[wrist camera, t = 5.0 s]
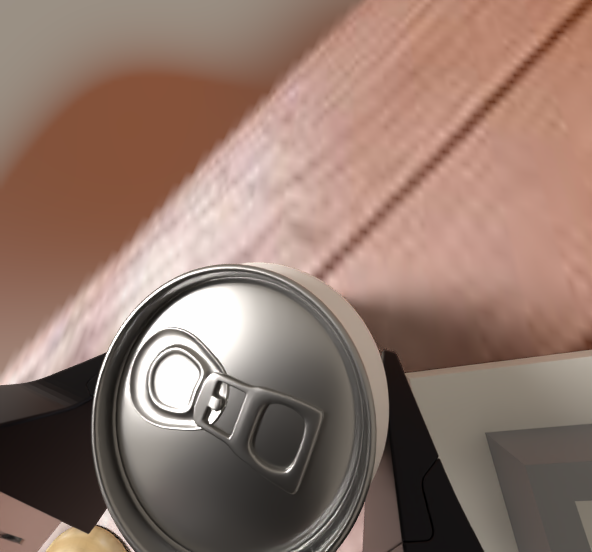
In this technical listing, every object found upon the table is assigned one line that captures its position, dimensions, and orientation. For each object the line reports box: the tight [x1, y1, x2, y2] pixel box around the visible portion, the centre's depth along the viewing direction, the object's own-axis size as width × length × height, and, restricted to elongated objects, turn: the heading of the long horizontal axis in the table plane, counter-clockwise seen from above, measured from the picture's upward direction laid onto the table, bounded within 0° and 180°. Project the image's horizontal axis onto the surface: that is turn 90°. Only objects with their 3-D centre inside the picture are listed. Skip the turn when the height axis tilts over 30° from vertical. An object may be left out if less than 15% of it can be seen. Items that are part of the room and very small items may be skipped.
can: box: [91, 262, 389, 552], centre depth 11 cm, size 6×6×12 cm
